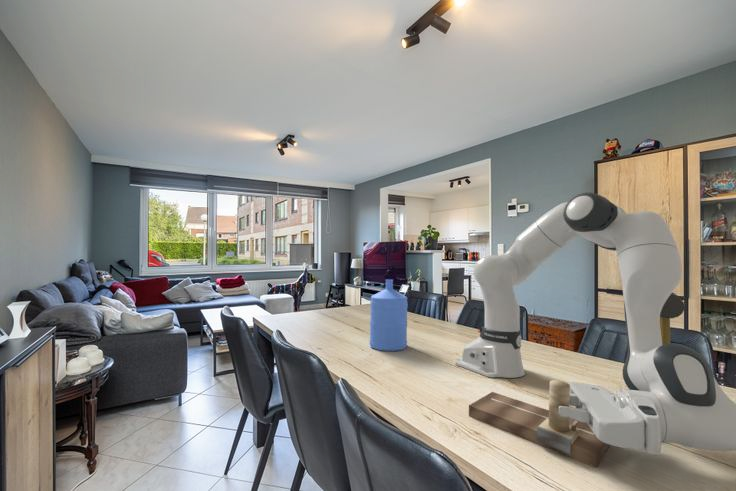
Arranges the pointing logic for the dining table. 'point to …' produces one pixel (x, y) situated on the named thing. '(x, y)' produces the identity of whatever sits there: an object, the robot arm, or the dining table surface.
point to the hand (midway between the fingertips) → (555, 404)
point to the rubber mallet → (670, 315)
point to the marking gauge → (557, 420)
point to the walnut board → (535, 425)
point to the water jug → (388, 319)
